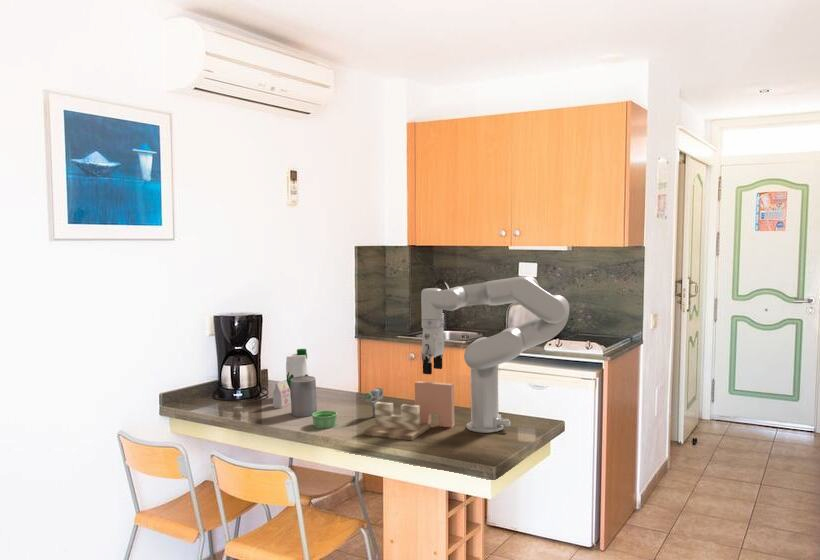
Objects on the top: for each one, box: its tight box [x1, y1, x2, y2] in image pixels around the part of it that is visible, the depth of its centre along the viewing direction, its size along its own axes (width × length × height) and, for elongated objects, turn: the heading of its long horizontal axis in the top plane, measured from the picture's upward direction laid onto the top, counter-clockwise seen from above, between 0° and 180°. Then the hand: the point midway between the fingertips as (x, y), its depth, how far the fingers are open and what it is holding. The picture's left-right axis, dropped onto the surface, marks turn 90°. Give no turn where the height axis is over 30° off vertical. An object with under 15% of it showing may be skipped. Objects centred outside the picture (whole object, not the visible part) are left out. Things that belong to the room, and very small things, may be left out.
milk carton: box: [285, 348, 309, 396], centre depth 293 cm, size 9×9×20 cm
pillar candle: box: [290, 375, 318, 418], centre depth 265 cm, size 10×10×15 cm
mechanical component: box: [364, 387, 384, 418], centre depth 258 cm, size 3×10×10 cm, turn 152°
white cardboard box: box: [272, 379, 291, 409], centre depth 278 cm, size 4×7×10 cm, turn 155°
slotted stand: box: [363, 401, 431, 441], centre depth 239 cm, size 18×15×10 cm
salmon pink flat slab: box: [414, 380, 456, 428], centre depth 246 cm, size 14×2×15 cm, turn 66°
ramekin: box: [311, 410, 338, 429], centre depth 249 cm, size 9×9×4 cm
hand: (432, 371), depth 245 cm, fingers open, 9 cm apart
